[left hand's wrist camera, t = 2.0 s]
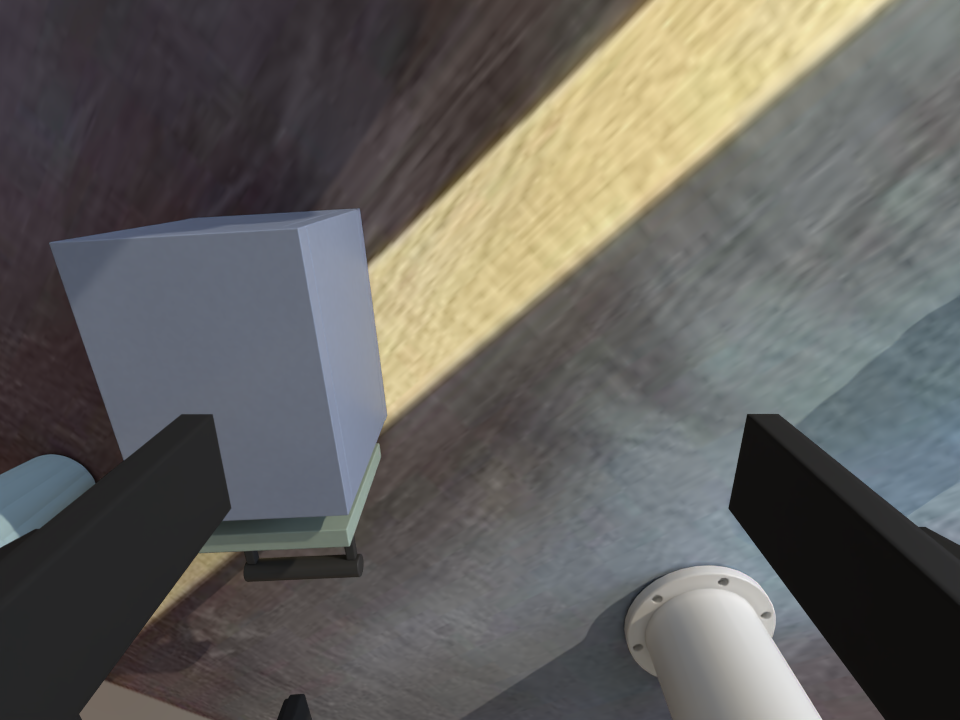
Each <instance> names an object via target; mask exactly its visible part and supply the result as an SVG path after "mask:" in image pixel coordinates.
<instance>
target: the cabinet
mask: <svg viewBox="0 0 960 720" xmlns="http://www.w3.org/2000/svg"><path fill="white" fill-rule="evenodd" d="M49 245H50V247H51V250H52V253H53V256H54V259H55V262H56V265H57V268H58V271H59V274H60V277H61V279H62V282H63V285H64V288H65V291H66V294H67V297H68V300H69V303H70V306H71V309H72V311H73V314H74V317H75V320H76V323H77V326H78V329H79V332H80V335H81V338H82V340H83V343H84V346H85V349H86V352H87V355H88V358H89V361H90V364H91V367H92V370H93V372H94V375H95V378H96V381H97V384H98V387H99V390H100V393H101V396H102V399H103V402H104V404H105V407H106V410H107V413H108V416H109V419H110V422H111V425H112V428H113V431H114V433H115V436H116V439H117V442H118V445H119V448H120V451H121V454H122V457H123V460H125V459H127V458H128V457H129V456H130V455H131V454H133V453H134V452H135V451H136V450H138V449H139V448H140V447H141V446H143V445H144V444H145V443H146V442H148V441H149V440H150V439H151V438H153V437H154V436H155V435H156V434H158V433H159V432H160V431H161V430H162V429H164V428H165V427H166V426H167V425H169V424H170V423H171V422H172V421H174V420H175V419H176V418H177V417H179V416H180V415H181V414H213V418H214V423H215V428H216V433H217V438H218V443H219V448H220V453H221V458H222V463H223V468H224V473H225V478H226V483H227V488H228V493H229V498H230V503H231V510H230V511H229V512H228V514H227V515H226V516H225V518H224V519H223V520H222V521H234V520H256V519H277V518H299V517H321V516H343V515H349V512H350V510H351V507H352V504H353V502H354V499H355V496H356V494H357V491H358V489H359V486H360V483H361V481H362V478H363V476H364V473H365V471H366V468H367V465H368V463H369V460H370V458H371V455H372V452H373V450H374V447H375V445H376V442H377V439H378V437H379V434H380V432H381V429H382V426H383V424H384V421H385V420H386V417H387V410H386V402H385V395H384V387H383V380H382V372H381V365H380V357H379V350H378V342H377V335H376V327H375V320H374V312H373V305H372V297H371V290H370V282H369V275H368V267H367V259H366V252H365V244H364V237H363V229H362V222H361V214H360V208H358V209H341V210H324V211H307V212H290V213H273V214H256V215H239V216H222V217H205V218H191V219H186V220H181V221H175V222H169V223H163V224H157V225H151V226H145V227H139V228H133V229H127V230H121V231H115V232H109V233H103V234H97V235H91V236H85V237H79V238H73V239H67V240H61V241H55V242H50V243H49Z"/></svg>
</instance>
